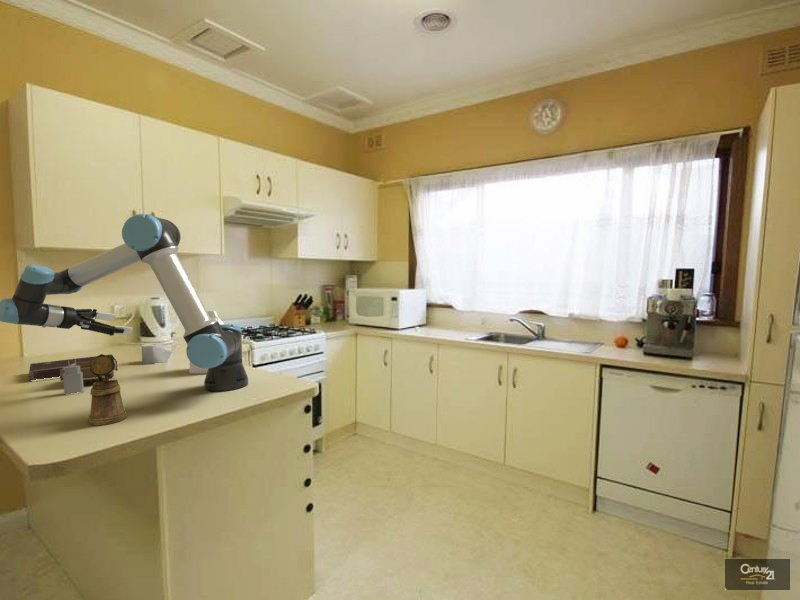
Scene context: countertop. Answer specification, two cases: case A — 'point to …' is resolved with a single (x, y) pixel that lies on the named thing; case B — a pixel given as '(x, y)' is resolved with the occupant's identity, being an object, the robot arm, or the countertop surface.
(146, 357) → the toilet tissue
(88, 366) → the cart
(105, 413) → the brown bell-shaped piece
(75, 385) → the power adapter
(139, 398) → the countertop surface
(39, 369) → the brown wooden tray
